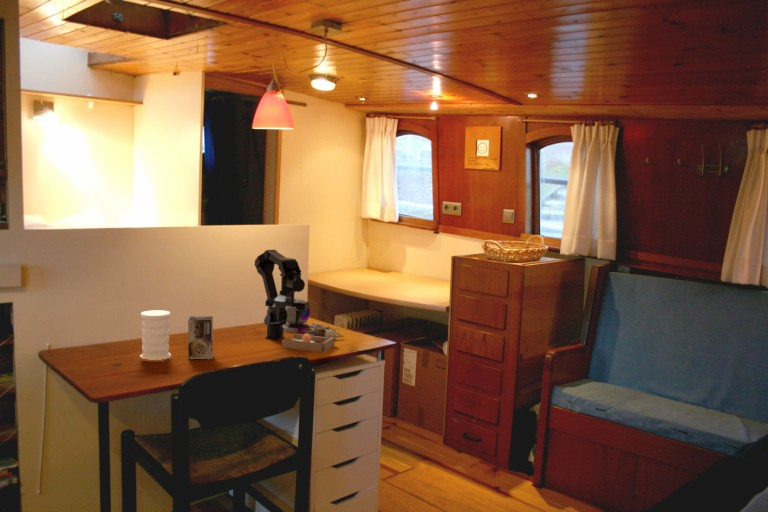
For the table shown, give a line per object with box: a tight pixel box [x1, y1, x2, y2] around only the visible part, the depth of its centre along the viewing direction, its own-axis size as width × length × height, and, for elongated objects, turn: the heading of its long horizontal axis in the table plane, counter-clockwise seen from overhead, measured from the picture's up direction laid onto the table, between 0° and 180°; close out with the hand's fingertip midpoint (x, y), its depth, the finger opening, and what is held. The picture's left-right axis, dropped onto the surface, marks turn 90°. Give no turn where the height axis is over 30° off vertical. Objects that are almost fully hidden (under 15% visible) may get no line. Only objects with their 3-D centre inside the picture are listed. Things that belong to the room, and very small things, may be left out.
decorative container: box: [139, 309, 172, 360], centre depth 255 cm, size 12×12×18 cm
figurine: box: [303, 322, 344, 339], centre depth 300 cm, size 20×6×17 cm
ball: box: [302, 333, 311, 342], centre depth 283 cm, size 4×4×4 cm
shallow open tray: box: [281, 333, 336, 353], centre depth 282 cm, size 19×12×4 cm, turn 72°
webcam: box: [283, 297, 311, 333], centre depth 313 cm, size 13×13×15 cm
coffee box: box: [187, 315, 214, 360], centre depth 258 cm, size 9×6×16 cm
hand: (286, 323), depth 285 cm, fingers open, 9 cm apart
